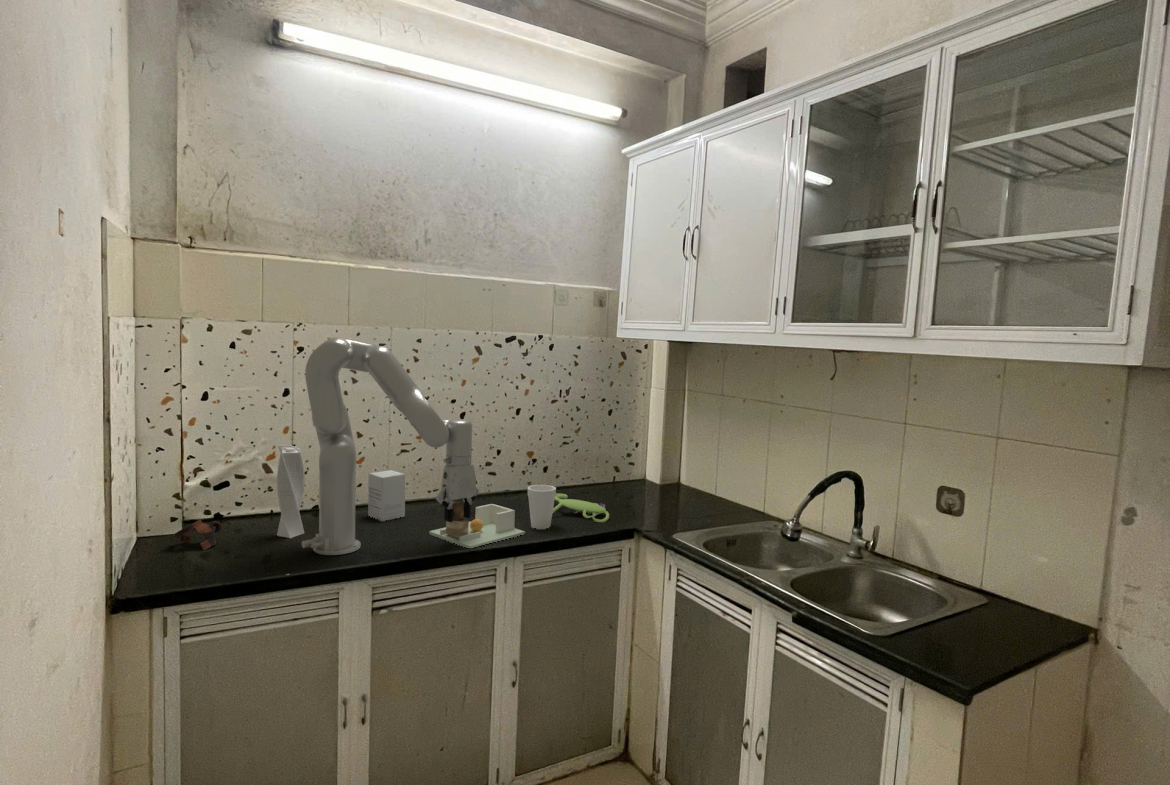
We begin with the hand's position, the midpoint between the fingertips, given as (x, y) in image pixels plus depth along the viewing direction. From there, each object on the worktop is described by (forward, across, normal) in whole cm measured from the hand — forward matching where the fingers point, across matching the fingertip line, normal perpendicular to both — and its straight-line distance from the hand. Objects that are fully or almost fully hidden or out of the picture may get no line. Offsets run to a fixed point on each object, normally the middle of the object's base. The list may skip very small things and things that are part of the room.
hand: (457, 518), depth 192 cm
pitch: (+7, +8, 0) cm, 10 cm away
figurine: (+7, +50, -3) cm, 50 cm away
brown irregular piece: (+7, -56, +44) cm, 72 cm away
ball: (+4, +8, 0) cm, 8 cm away
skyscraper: (+7, -34, +37) cm, 51 cm away
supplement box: (+7, -2, +36) cm, 37 cm away
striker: (+5, 0, 0) cm, 5 cm away
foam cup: (+7, +29, -7) cm, 31 cm away
